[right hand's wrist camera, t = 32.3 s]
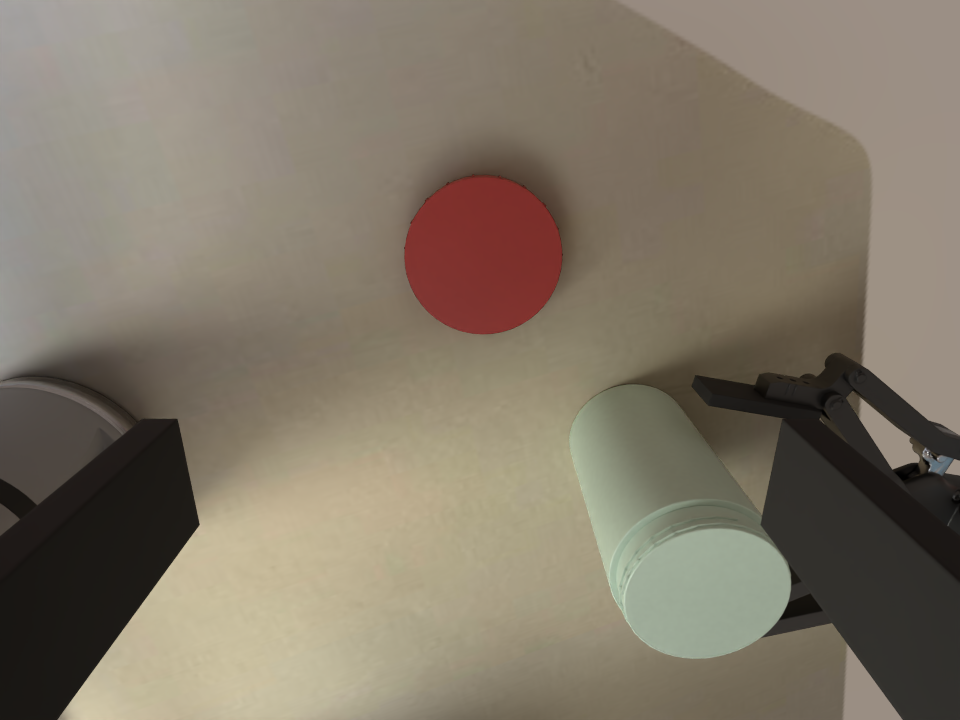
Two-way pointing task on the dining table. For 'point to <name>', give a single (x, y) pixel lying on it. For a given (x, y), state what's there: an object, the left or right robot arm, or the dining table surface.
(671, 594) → the jar
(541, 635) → the dining table surface
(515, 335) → the dining table surface
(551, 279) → the lid
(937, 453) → the left robot arm
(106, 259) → the dining table surface
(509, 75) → the dining table surface
